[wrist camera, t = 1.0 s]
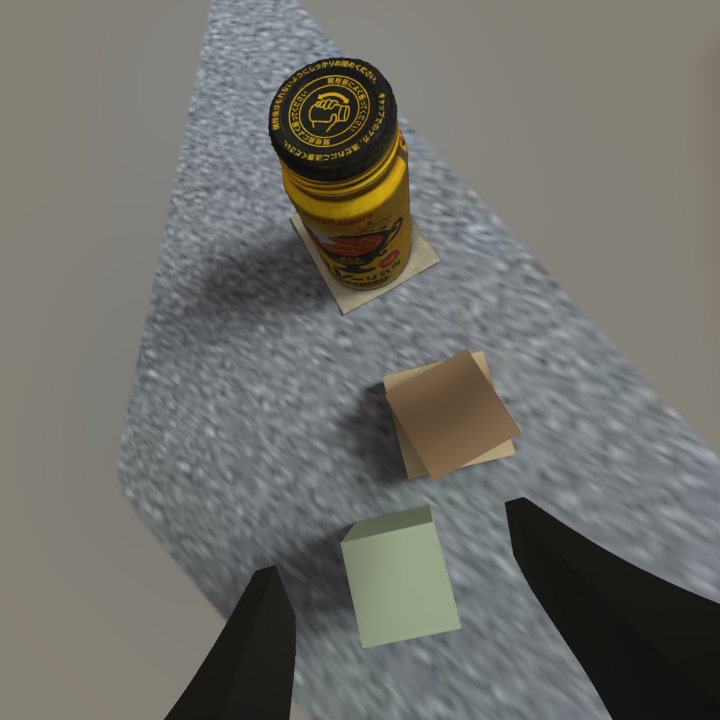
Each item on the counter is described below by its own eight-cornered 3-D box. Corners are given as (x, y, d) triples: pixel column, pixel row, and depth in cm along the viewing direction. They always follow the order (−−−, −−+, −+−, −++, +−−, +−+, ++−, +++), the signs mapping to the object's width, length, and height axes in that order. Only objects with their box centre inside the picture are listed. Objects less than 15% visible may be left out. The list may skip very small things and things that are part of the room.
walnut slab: (510, 433, 22) (521, 432, 20) (432, 477, 22) (434, 481, 20) (462, 356, 23) (467, 348, 21) (387, 399, 23) (384, 395, 21)
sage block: (451, 587, 22) (461, 628, 17) (374, 603, 22) (362, 648, 18) (429, 504, 23) (433, 521, 18) (355, 521, 24) (340, 543, 19)
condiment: (344, 315, 26) (287, 215, 15) (290, 218, 28) (203, 62, 17) (440, 262, 26) (461, 118, 14) (379, 168, 28) (354, -25, 16)
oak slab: (506, 452, 24) (515, 454, 21) (409, 476, 24) (408, 479, 22) (476, 358, 25) (482, 350, 23) (385, 382, 25) (382, 377, 23)
